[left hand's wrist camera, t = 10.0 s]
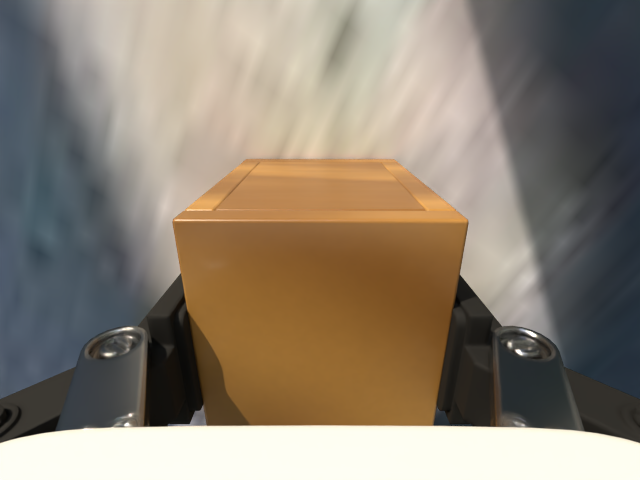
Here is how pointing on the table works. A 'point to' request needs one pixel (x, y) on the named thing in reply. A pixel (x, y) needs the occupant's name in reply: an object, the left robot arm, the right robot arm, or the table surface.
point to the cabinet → (320, 293)
